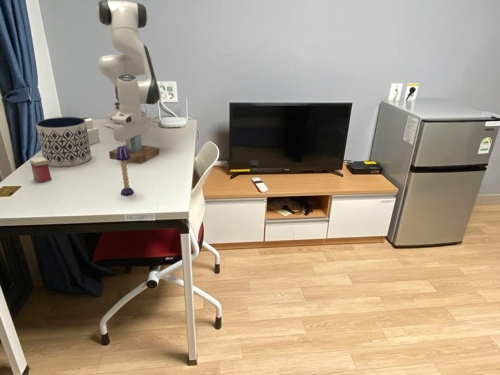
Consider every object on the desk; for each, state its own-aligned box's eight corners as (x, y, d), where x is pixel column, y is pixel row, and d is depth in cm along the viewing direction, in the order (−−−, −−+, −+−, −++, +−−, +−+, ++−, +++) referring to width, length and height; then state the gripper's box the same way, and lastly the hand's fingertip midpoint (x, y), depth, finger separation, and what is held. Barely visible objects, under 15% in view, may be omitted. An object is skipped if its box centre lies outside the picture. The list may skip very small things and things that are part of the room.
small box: (33, 179, 127) (29, 159, 124) (46, 176, 130) (42, 156, 127) (39, 183, 125) (34, 162, 121) (51, 179, 128) (47, 159, 124)
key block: (136, 154, 152) (135, 137, 148) (127, 153, 153) (125, 135, 150) (143, 151, 156) (141, 134, 152) (134, 150, 157) (132, 133, 154)
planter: (44, 155, 150) (36, 118, 144) (89, 151, 158) (84, 115, 152) (43, 169, 136) (34, 129, 129) (93, 164, 144) (87, 125, 137)
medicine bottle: (77, 143, 168) (73, 119, 163) (89, 139, 174) (85, 116, 169) (89, 145, 166) (85, 120, 161) (100, 141, 172) (96, 118, 167)
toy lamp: (117, 193, 119) (111, 147, 113) (128, 188, 123) (123, 143, 116) (126, 196, 117) (120, 150, 110) (137, 192, 121) (132, 146, 114)
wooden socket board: (109, 158, 151) (108, 151, 150) (130, 149, 163) (129, 143, 162) (140, 163, 146) (140, 157, 145) (159, 154, 158) (158, 147, 157)
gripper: (139, 109, 157) (142, 139, 163) (108, 119, 139) (112, 151, 145) (151, 111, 155) (153, 141, 161) (121, 120, 137) (125, 153, 143)
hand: (134, 146), depth 153 cm, fingers closed on key block, 4 cm apart
